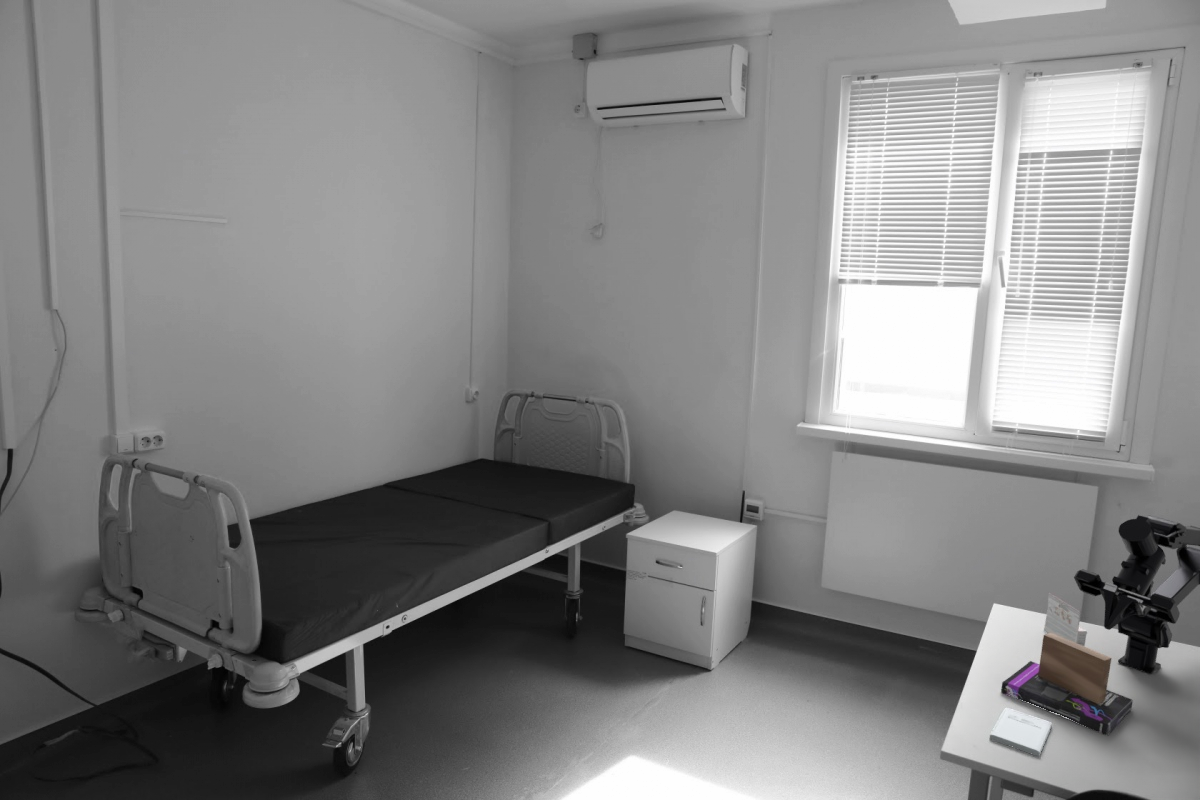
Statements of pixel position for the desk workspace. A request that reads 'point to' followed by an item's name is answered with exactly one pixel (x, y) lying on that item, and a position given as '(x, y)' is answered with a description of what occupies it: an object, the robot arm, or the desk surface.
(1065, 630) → the ink cartridge box
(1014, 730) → the external hard drive
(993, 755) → the desk surface
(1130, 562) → the robot arm
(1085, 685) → the walnut board
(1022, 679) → the box
